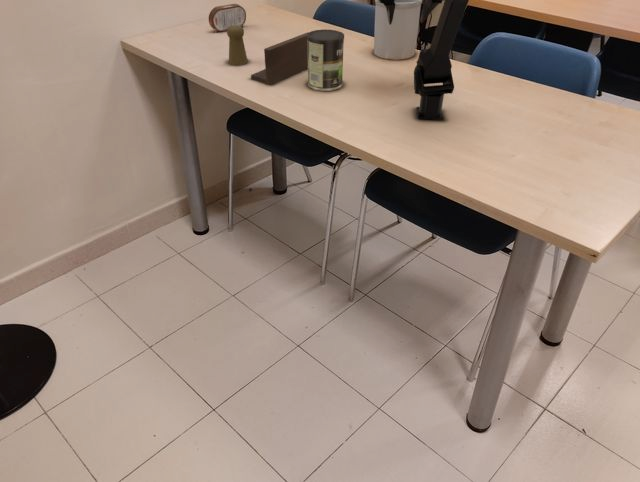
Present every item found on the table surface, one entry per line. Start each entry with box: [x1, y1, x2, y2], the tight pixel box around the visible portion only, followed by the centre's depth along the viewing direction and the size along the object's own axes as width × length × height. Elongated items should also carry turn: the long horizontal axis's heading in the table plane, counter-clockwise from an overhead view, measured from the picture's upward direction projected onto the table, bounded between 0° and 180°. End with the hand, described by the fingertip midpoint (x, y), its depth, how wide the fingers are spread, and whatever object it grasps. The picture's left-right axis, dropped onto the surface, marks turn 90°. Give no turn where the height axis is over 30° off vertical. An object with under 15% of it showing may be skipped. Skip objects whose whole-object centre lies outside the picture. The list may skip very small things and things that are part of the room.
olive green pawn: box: [226, 25, 249, 66], centre depth 158 cm, size 6×6×11 cm
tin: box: [208, 3, 247, 32], centre depth 186 cm, size 15×3×8 cm, turn 130°
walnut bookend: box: [250, 31, 310, 86], centre depth 151 cm, size 8×20×10 cm, turn 143°
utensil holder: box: [373, 0, 423, 61], centre depth 163 cm, size 15×15×18 cm
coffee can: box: [307, 28, 345, 92], centre depth 142 cm, size 10×10×14 cm
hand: (405, 23), depth 138 cm, fingers open, 9 cm apart
